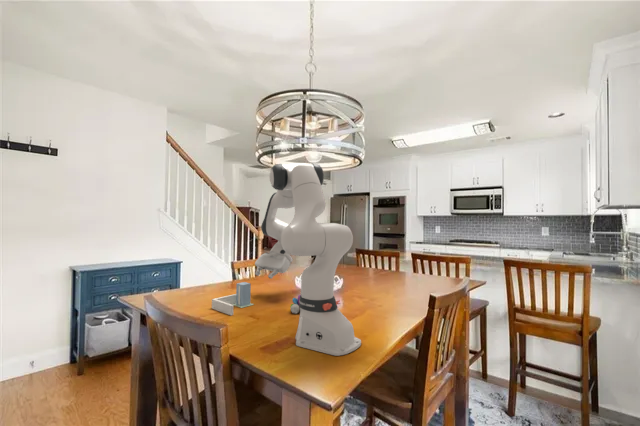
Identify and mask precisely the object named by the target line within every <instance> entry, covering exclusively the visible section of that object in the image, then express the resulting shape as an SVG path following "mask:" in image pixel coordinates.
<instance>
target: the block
mask: <svg viewBox="0 0 640 426" xmlns="http://www.w3.org/2000/svg"><path fill="white" fill-rule="evenodd" d="M251 285H252V284H251V282H247V281H244V282H243V281H242V282H238V283H236V291H235V292H236V293H235V294H236V303H235V304H236V305H239V306H246V305H250V303H251V298H252V297H251V292H252V291H251V290H252V289H251V288H252V287H251Z"/></svg>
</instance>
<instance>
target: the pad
mask: <svg viewBox="0 0 640 426" xmlns="http://www.w3.org/2000/svg"><path fill="white" fill-rule="evenodd" d="M232 305H234V307H237V308H240V309H243V308H246V307H251V306H253V305H254V306H255V304H254V303H251V302H250V305H246V306H239V305H236V303H235V304H232Z"/></svg>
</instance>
